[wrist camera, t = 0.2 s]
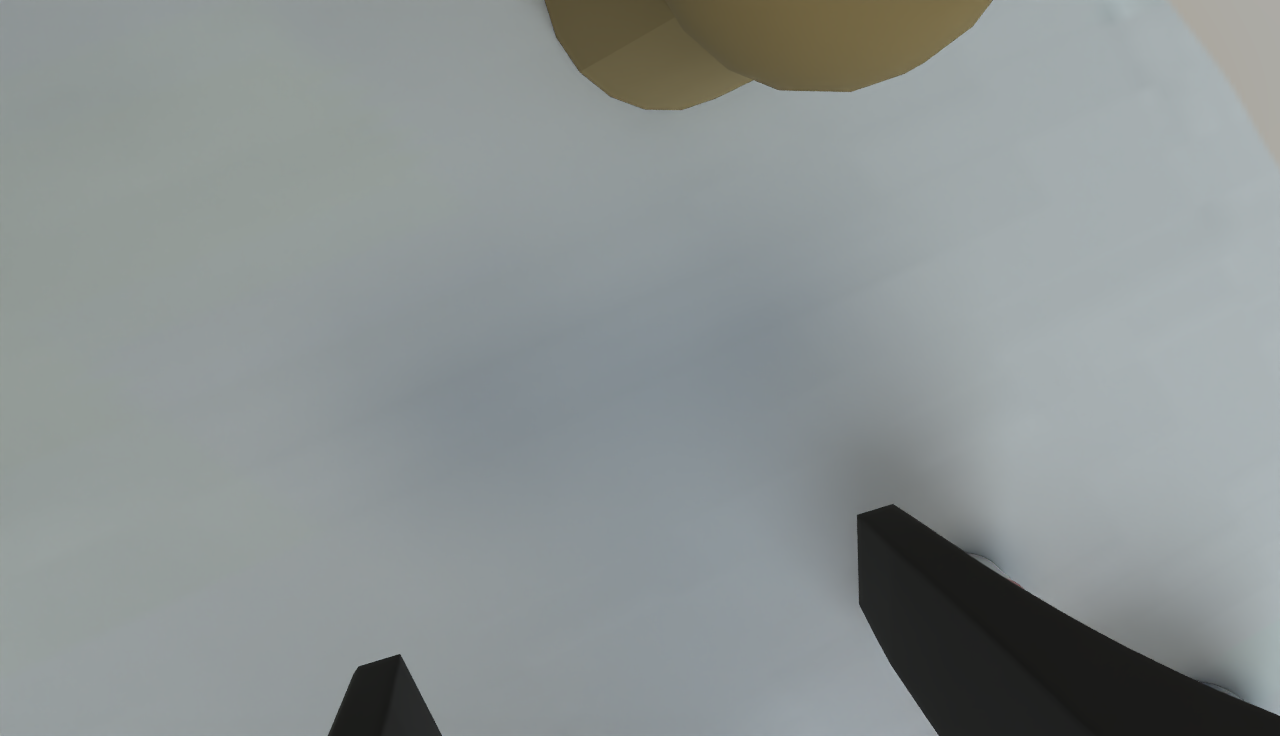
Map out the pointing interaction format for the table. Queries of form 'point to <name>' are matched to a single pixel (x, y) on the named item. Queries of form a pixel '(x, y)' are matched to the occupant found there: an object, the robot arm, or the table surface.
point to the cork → (750, 44)
